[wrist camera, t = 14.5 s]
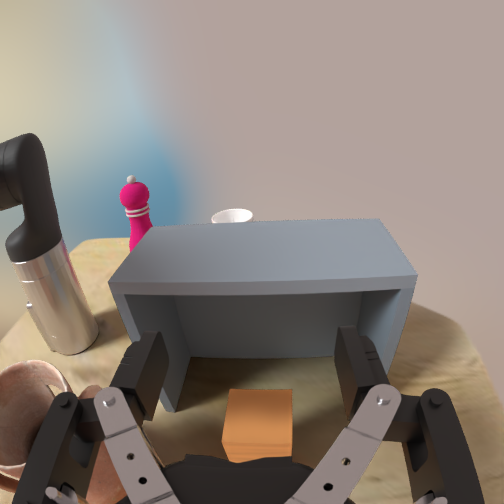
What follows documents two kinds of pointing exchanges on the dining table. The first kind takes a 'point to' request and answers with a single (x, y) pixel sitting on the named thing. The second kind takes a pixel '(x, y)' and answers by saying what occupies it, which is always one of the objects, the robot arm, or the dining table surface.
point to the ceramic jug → (29, 423)
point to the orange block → (258, 424)
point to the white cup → (233, 216)
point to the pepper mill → (136, 209)
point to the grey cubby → (263, 290)
